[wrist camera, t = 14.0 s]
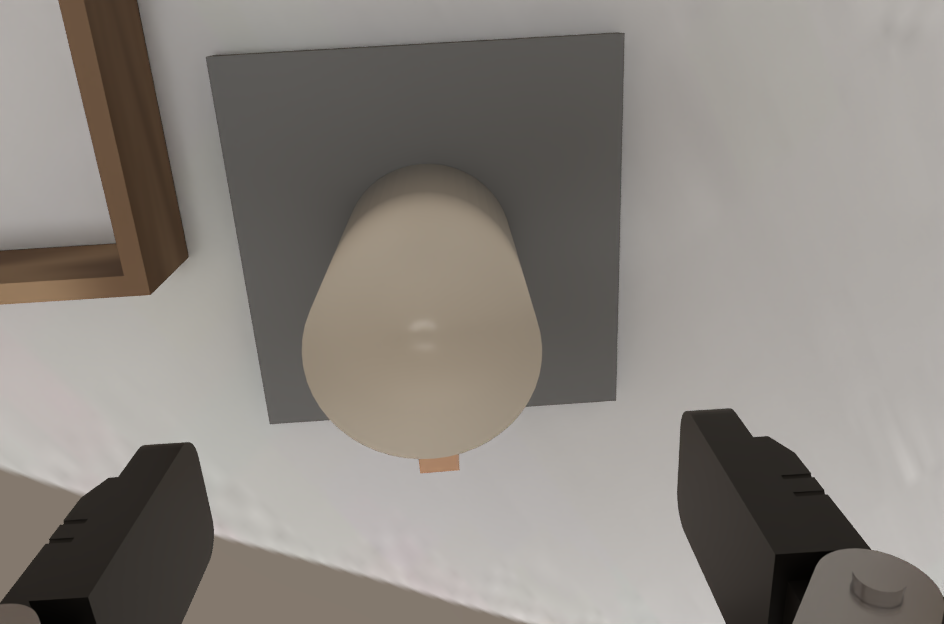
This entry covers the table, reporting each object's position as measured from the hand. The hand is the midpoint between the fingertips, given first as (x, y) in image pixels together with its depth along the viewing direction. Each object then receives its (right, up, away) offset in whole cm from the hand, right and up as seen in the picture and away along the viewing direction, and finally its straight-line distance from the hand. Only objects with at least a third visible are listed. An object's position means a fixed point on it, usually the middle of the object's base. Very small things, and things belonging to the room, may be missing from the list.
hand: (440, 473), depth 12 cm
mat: (-1, +5, +12) cm, 13 cm away
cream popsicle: (-1, +5, +11) cm, 12 cm away
